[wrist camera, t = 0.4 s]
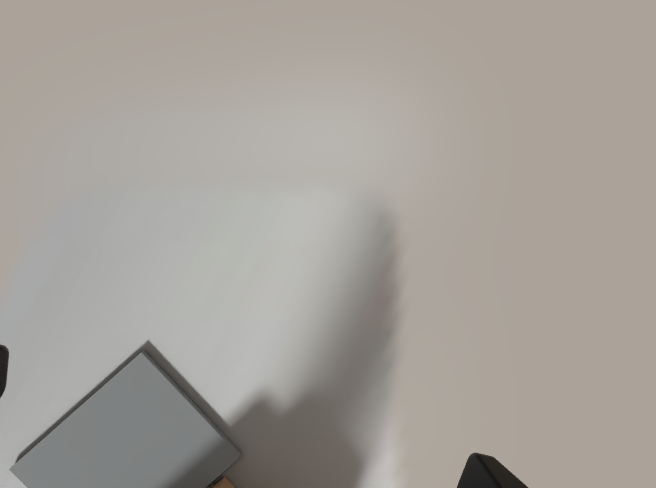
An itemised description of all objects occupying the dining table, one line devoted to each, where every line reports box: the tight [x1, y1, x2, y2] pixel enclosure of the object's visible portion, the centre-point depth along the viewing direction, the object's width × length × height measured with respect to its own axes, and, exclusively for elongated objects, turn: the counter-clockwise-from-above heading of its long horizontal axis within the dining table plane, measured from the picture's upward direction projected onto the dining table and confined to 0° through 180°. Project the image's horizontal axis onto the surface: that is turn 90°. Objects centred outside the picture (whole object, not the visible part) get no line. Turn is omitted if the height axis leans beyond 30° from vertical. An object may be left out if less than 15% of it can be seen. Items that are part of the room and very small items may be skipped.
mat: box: [9, 350, 241, 488], centre depth 23 cm, size 9×8×1 cm
